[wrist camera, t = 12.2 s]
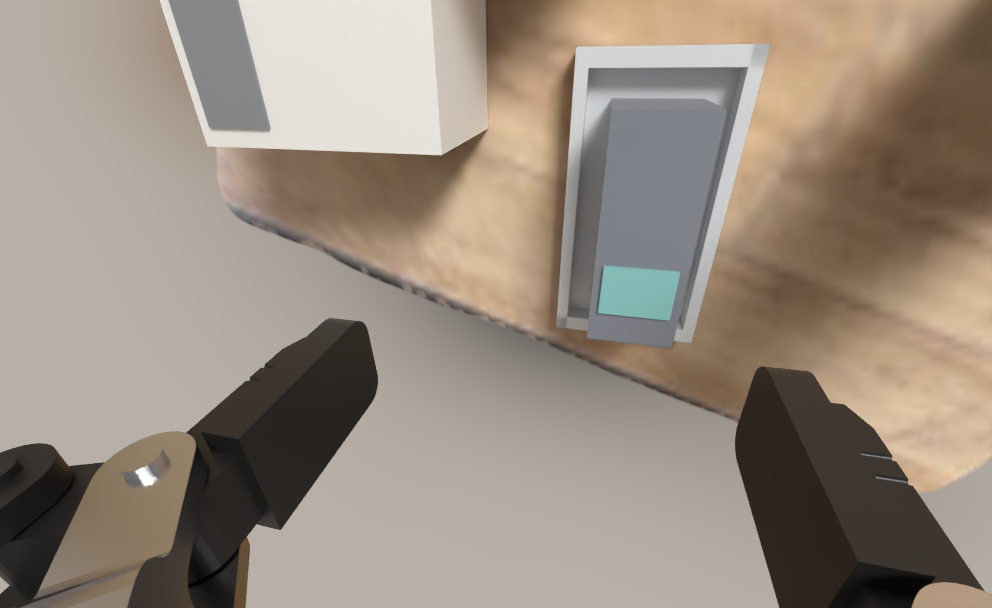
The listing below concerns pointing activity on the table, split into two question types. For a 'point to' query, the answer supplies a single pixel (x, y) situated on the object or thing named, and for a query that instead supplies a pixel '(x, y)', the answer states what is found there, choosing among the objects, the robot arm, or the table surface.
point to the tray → (597, 80)
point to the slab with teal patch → (651, 215)
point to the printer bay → (335, 72)
